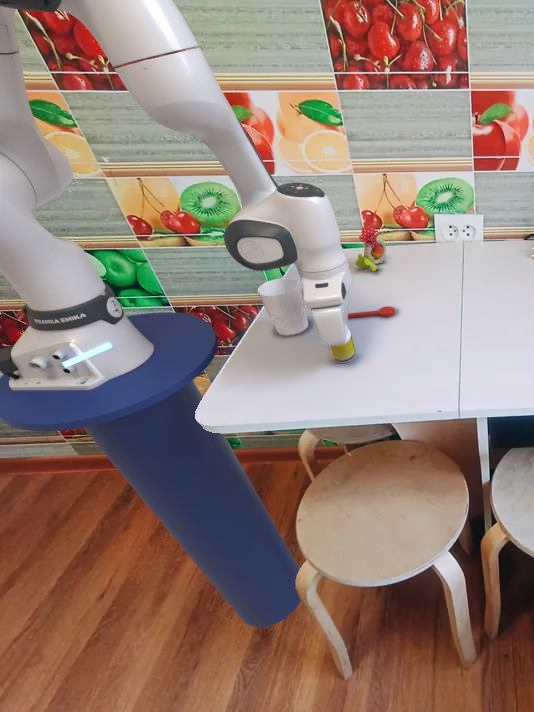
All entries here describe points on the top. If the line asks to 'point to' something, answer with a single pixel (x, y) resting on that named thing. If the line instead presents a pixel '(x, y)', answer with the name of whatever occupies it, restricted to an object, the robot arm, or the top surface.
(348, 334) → the supplement bottle
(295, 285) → the white cup
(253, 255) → the robot arm
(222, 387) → the top surface
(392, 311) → the spoon
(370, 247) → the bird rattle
